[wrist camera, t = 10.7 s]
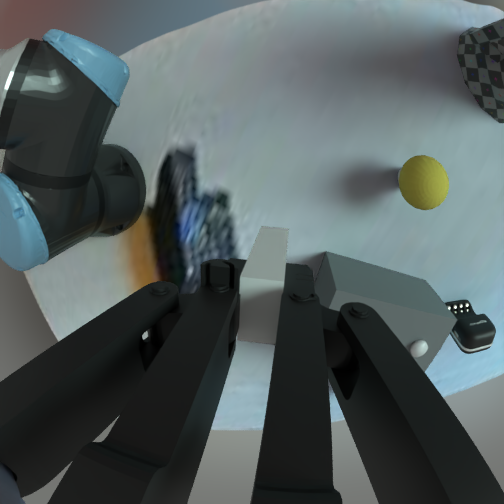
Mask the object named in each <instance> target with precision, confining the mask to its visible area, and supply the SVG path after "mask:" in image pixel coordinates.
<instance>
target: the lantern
mask: <svg viewBox="0 0 504 504" xmlns="http://www.w3.org/2000/svg"><path fill="white" fill-rule="evenodd" d="M457 57H458V60H459V63H460V66H461V69H462V73H463V76H464V80H465V83H466V85H467V86H468V88H469V89H470V91H471V92H472V94H473V95H474V97H475V99H476V100H477V102H478V103H479V105H480V107H481V108H482V109H483V110H485V111H486V112H487V113H488V114H490V115H491V116H492V117H493V118H494V119H496V120H497V121H498V122H499V123H504V19H501V20H498V21H496V22H493V23H491V24H488V25H486V26H483V27H481V28H474V27H472V28H471V29H469V30H468V31H466V32H465V33H463V34H462V35H460V40H459V47H458V54H457Z"/></svg>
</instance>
